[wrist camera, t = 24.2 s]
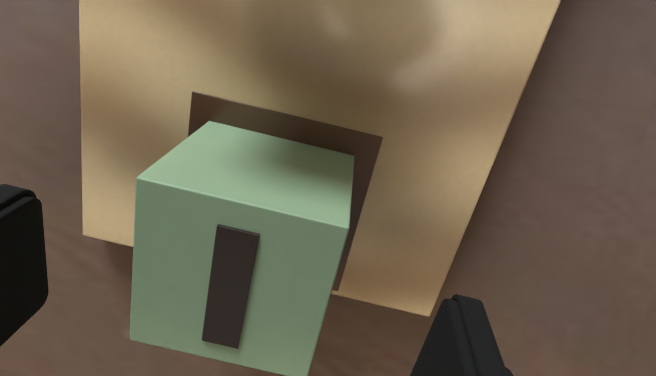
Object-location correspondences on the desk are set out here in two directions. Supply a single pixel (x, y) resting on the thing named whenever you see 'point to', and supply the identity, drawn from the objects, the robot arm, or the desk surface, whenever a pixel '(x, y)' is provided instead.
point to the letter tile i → (239, 247)
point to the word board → (317, 110)
